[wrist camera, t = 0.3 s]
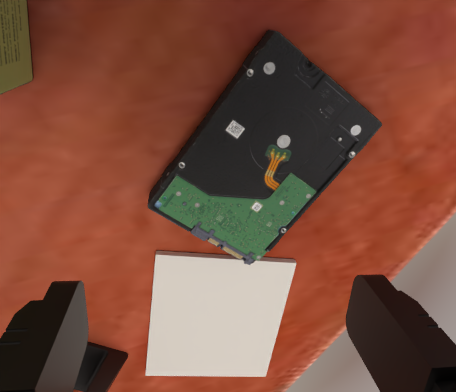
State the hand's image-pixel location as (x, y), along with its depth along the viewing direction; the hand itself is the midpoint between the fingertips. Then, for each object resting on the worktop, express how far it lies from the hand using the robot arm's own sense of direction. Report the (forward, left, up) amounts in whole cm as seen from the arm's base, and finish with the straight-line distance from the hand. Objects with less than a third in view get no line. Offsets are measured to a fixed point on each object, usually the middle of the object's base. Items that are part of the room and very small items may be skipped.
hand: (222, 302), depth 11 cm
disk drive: (+1, +5, -19) cm, 19 cm away
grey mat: (+17, +4, -18) cm, 25 cm away
